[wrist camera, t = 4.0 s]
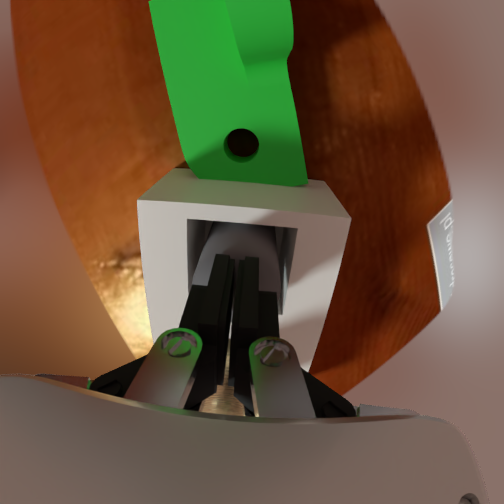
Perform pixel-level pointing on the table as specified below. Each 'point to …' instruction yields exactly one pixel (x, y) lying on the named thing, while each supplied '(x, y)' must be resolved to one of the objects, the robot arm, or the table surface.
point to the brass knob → (224, 396)
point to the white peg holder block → (250, 212)
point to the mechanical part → (231, 86)
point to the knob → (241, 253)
